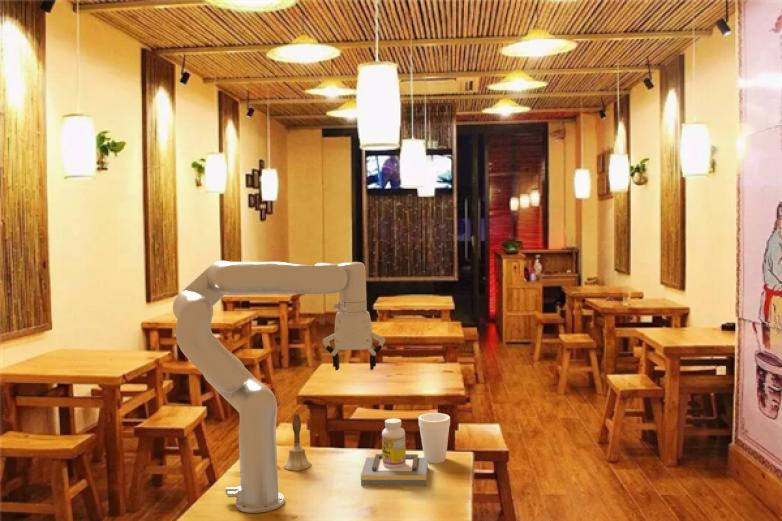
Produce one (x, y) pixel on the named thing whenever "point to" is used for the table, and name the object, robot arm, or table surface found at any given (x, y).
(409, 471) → the loading dock
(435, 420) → the foam cup
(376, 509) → the table surface
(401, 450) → the supplement bottle
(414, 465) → the bay rails
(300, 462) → the hand bell
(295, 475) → the table surface
